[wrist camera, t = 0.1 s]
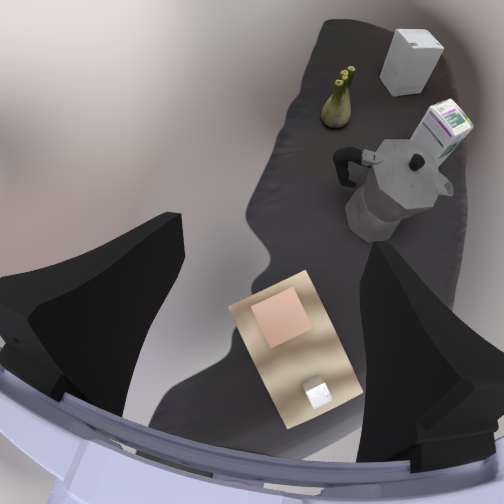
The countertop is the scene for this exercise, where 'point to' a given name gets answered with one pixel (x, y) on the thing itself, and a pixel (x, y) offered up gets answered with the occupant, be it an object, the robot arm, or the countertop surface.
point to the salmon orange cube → (281, 317)
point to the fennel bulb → (339, 101)
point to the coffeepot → (389, 186)
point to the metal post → (317, 391)
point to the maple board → (298, 354)
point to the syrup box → (442, 130)
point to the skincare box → (410, 61)
